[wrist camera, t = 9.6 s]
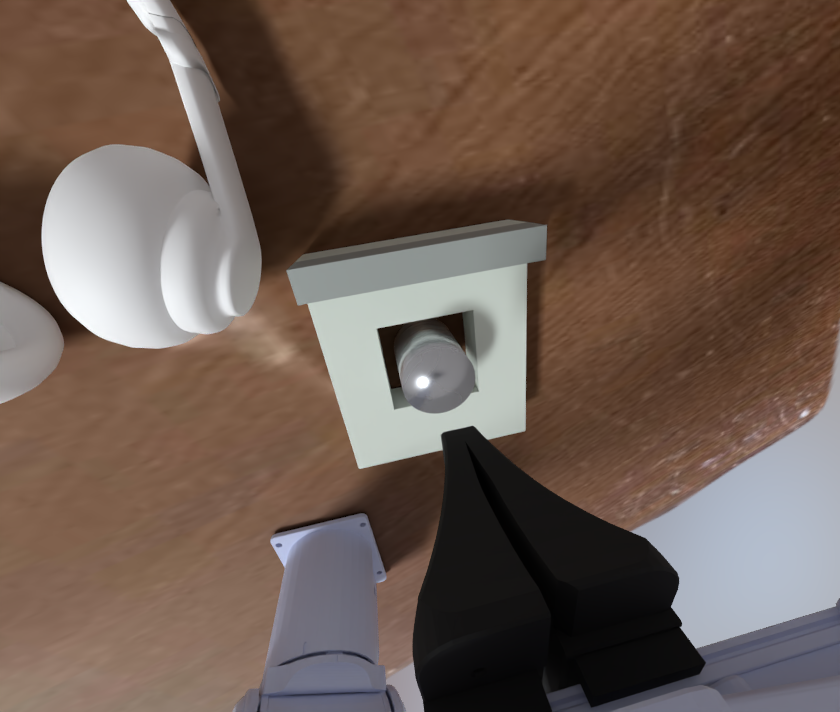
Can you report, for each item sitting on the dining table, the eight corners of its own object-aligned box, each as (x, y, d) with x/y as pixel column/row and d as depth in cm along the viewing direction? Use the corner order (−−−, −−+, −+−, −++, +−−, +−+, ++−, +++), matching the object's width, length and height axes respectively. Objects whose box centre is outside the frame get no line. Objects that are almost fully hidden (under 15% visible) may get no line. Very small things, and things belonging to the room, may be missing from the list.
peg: (451, 368, 23) (473, 409, 18) (395, 374, 22) (404, 417, 18) (452, 314, 21) (477, 344, 17) (391, 319, 21) (400, 352, 16)
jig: (511, 410, 25) (539, 450, 21) (359, 444, 24) (358, 492, 20) (507, 219, 19) (547, 225, 15) (302, 254, 18) (286, 270, 14)
